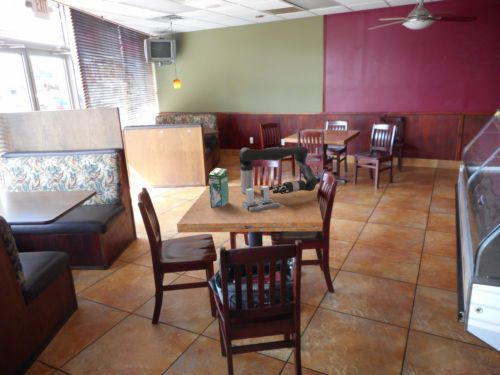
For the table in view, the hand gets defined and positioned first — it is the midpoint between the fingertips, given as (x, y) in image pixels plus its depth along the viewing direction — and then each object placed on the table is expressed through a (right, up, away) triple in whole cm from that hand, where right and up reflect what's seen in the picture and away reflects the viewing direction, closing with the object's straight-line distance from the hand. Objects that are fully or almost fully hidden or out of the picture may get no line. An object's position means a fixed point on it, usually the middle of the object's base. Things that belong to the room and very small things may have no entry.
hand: (269, 190), depth 236 cm
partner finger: (-13, -11, -3) cm, 17 cm away
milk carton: (-33, -11, +5) cm, 35 cm away
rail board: (-6, -12, -2) cm, 13 cm away
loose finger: (-3, -9, +1) cm, 10 cm away
